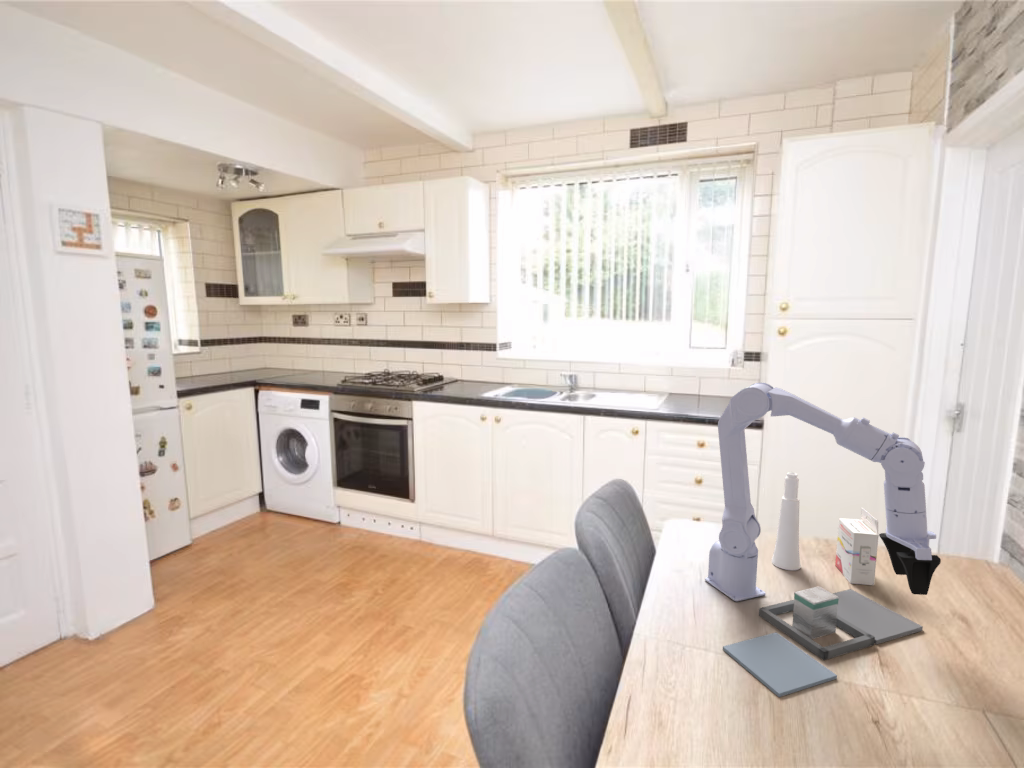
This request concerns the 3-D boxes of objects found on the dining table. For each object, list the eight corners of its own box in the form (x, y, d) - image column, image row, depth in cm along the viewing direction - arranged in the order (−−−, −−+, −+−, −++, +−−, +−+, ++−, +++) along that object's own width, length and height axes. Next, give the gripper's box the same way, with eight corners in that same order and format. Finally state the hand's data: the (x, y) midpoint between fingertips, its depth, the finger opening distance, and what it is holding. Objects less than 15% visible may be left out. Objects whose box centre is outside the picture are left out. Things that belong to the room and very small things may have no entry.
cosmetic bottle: (803, 572, 116) (810, 478, 113) (773, 568, 118) (779, 476, 115) (797, 560, 122) (804, 470, 119) (769, 556, 124) (775, 468, 121)
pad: (722, 649, 90) (722, 646, 89) (775, 635, 93) (776, 632, 93) (778, 697, 78) (779, 693, 78) (836, 678, 82) (837, 675, 82)
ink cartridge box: (833, 565, 120) (838, 504, 118) (857, 567, 119) (862, 506, 117) (849, 584, 111) (855, 519, 109) (875, 586, 110) (881, 520, 108)
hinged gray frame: (758, 615, 100) (759, 608, 100) (850, 592, 108) (850, 585, 108) (823, 660, 87) (824, 652, 86) (922, 630, 95) (923, 623, 94)
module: (792, 626, 96) (794, 591, 95) (816, 620, 98) (818, 586, 97) (810, 639, 92) (813, 603, 91) (835, 632, 94) (838, 597, 93)
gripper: (952, 522, 82) (957, 604, 83) (916, 496, 96) (920, 567, 96) (899, 522, 85) (905, 602, 85) (871, 496, 98) (876, 565, 99)
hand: (910, 583), depth 91 cm, fingers open, 7 cm apart
